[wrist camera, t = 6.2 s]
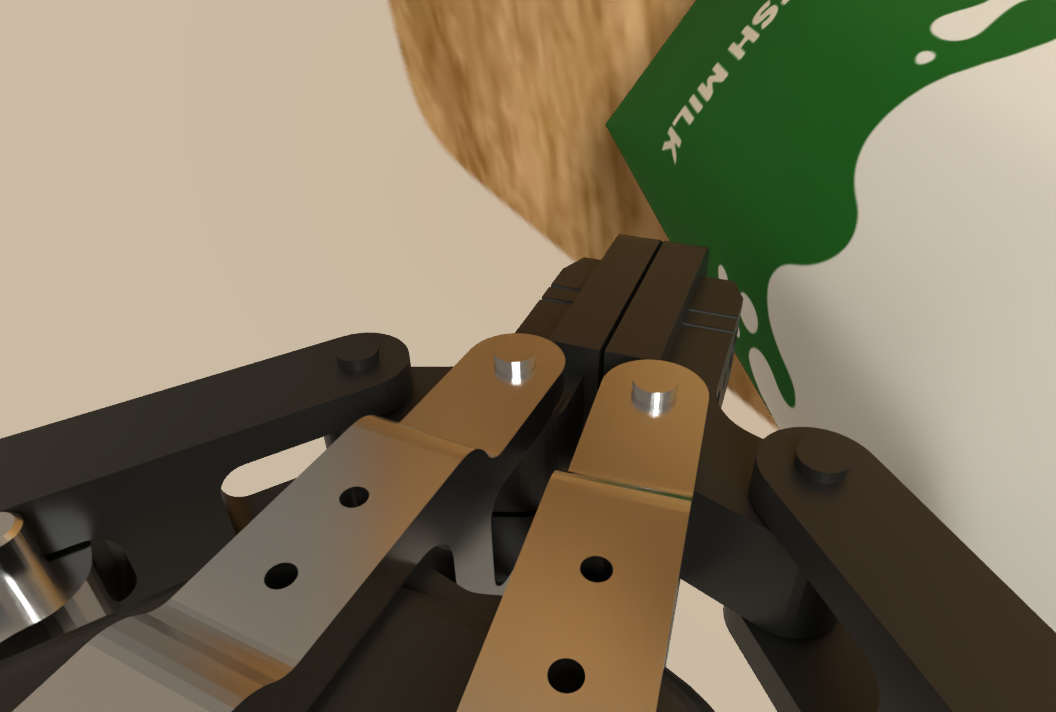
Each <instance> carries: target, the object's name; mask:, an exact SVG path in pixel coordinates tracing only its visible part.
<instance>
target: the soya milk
mask: <svg viewBox="0 0 1056 712" xmlns="http://www.w3.org/2000/svg"><path fill="white" fill-rule="evenodd" d="M606 127H607V128H608V130H609V132H610V134H611V136H612V137H613V139H614V141H615V143H616V145H617V146H618V148H619V150H620V152H621V154H622V155H623V157H624V159H625V161H626V163H627V164H628V166H629V168H630V170H631V172H632V173H633V175H634V177H635V179H636V181H637V182H638V184H639V186H640V188H641V190H642V192H643V193H644V195H645V197H646V199H647V201H648V202H649V204H650V206H651V208H652V210H653V211H654V213H655V215H656V217H657V219H658V221H659V222H660V224H661V226H662V228H663V230H664V231H665V233H666V235H667V237H668V238H669V240H670V242H676V243H683V244H689V245H696V246H703V247H709V261H708V268H707V276H706V277H711V278H718V279H724V280H730V281H735V283H736V285H737V287H738V289H739V291H740V293H741V295H742V297H743V304H742V310H741V315H740V321H739V327H738V333H737V338H736V344H735V350H734V352H735V354H736V355H737V357H738V359H739V361H740V362H741V364H742V366H743V367H744V369H745V371H746V373H747V374H748V376H749V378H750V379H751V381H752V383H753V385H754V386H755V388H756V390H757V391H758V393H759V395H760V397H761V398H762V400H763V402H764V403H765V405H766V407H767V409H768V410H769V412H770V414H771V415H772V417H773V419H774V420H775V422H776V424H777V426H778V427H779V429H780V430H782V429H785V428H791V427H815V428H820V429H826V430H829V431H833V432H836V433H839V434H841V435H844V436H846V437H848V438H850V439H852V440H854V441H856V442H857V443H859V444H861V445H862V446H864V447H865V448H866V449H867V450H869V451H870V452H871V453H872V454H873V455H874V456H875V457H876V458H877V459H878V460H879V461H880V462H881V463H882V464H883V465H884V466H885V467H886V468H887V469H889V470H890V471H891V472H892V473H893V474H894V475H895V476H896V477H897V478H898V479H899V480H900V481H901V482H902V483H903V484H904V485H905V486H906V487H907V488H908V489H909V490H910V491H911V492H912V493H913V494H914V495H915V496H916V497H917V498H918V499H919V500H920V501H921V502H922V503H923V504H924V505H925V506H926V507H927V508H929V509H930V510H931V511H932V512H933V513H934V514H935V515H936V516H937V517H938V518H939V519H940V520H941V521H942V522H943V523H944V524H945V525H946V526H947V527H948V528H949V529H950V530H951V531H952V532H953V533H954V534H955V535H956V536H957V537H958V538H959V539H960V540H961V541H962V542H963V543H964V544H965V545H966V546H967V547H968V548H970V549H971V550H972V551H973V552H974V553H975V554H976V555H977V556H978V557H979V558H980V559H981V560H982V561H983V562H984V563H985V564H986V565H987V566H988V567H989V568H990V569H991V570H992V571H993V572H994V573H995V574H996V575H997V576H998V577H999V578H1000V579H1001V580H1002V581H1003V582H1004V583H1005V584H1006V585H1007V586H1008V587H1010V588H1011V589H1012V590H1013V591H1014V592H1015V593H1016V594H1017V595H1018V596H1019V597H1020V598H1021V599H1022V600H1023V601H1024V602H1025V603H1026V604H1027V605H1028V606H1029V607H1030V608H1031V609H1032V610H1033V611H1034V612H1035V613H1036V614H1037V615H1038V616H1039V617H1040V618H1041V619H1042V620H1043V621H1044V622H1045V623H1046V624H1047V625H1048V626H1050V627H1051V628H1052V629H1053V630H1054V631H1055V632H1056V0H696V1H695V3H694V4H693V5H692V7H691V8H690V9H689V11H688V12H687V14H686V15H685V16H684V18H683V19H682V20H681V22H680V23H679V24H678V26H677V27H676V29H675V30H674V31H673V33H672V34H671V35H670V37H669V38H668V40H667V41H666V42H665V44H664V45H663V46H662V48H661V49H660V50H659V52H658V53H657V55H656V56H655V57H654V59H653V60H652V61H651V63H650V64H649V66H648V67H647V68H646V70H645V71H644V72H643V74H642V75H641V76H640V78H639V79H638V81H637V82H636V83H635V85H634V86H633V87H632V89H631V90H630V92H629V93H628V94H627V96H626V97H625V98H624V100H623V101H622V102H621V104H620V105H619V107H618V108H617V109H616V111H615V112H614V113H613V115H612V116H611V118H610V119H609V120H608V122H607V123H606Z"/></svg>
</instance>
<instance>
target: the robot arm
mask: <svg viewBox="0 0 1056 712" xmlns="http://www.w3.org/2000/svg"><path fill="white" fill-rule="evenodd" d="M708 261H709V247H703V246H696V245H689V244H683V243H676V242H669V241H664V242H662V241H661V240H654V239H647V238H641V237H634V236H627V235H620V234H619V235H618V236H617V237H616V239H615V240H614V242H613V243H612V245H611V246H610V248H609V249H608V251H607V252H606V254H605V255H604V257H603V258H602V260H597V259H591V258H582V259H581V260H579V261H577V262H575V263H573V264H571V265H569V266H568V267H566V268H564V269H562V271H561V272H560V274H559V275H558V276H557V278H556V279H555V280H554V281H553V283H552V285H551V287H549V288H548V290H547V291H546V292H545V293H544V295H543V296H542V300H539V302H538V303H537V304H536V306H535V307H534V308H533V310H532V311H531V312H530V314H529V315H528V316H527V318H526V319H525V320H524V322H523V323H522V324H521V326H520V327H519V328H518V330H517V331H516V332H515V333H512V334H503V335H498V336H494V337H491V338H488V339H486V340H483V341H481V342H480V343H478V344H476V345H475V346H474V347H473V348H472V349H471V350H470V351H469V352H468V353H467V354H466V355H465V356H464V357H463V358H462V359H461V360H460V361H459V362H458V363H457V364H456V365H455V366H454V367H411V364H410V357H409V351H408V348H407V347H406V345H405V344H404V343H403V342H402V341H400V340H399V339H397V338H395V337H392V336H390V335H385V334H380V333H358V334H351V335H348V336H343V337H340V338H336V339H333V340H330V341H326V342H323V343H319V344H316V345H313V346H309V347H306V348H303V349H299V350H296V351H293V352H290V353H286V354H283V355H279V356H276V357H273V358H269V359H266V360H263V361H260V362H256V363H253V364H250V365H246V366H242V367H239V368H236V369H233V370H229V371H226V372H223V373H219V374H216V375H212V376H209V377H206V378H202V379H199V380H196V381H192V382H189V383H186V384H182V385H179V386H176V387H172V388H169V389H165V390H163V391H159V392H155V393H152V394H149V395H145V396H143V397H139V398H135V399H132V400H129V401H126V402H122V403H119V404H116V405H112V406H109V407H105V408H102V409H99V410H96V411H92V412H88V413H85V414H82V415H78V416H75V417H72V418H68V419H65V420H62V421H58V422H55V423H52V424H48V425H45V426H42V427H38V428H35V429H32V430H29V431H25V432H21V433H18V434H15V435H11V436H8V437H5V438H1V439H0V712H714V710H713V709H712V708H711V706H710V705H709V704H708V703H707V702H706V701H705V700H704V699H703V698H702V697H701V696H700V695H699V694H698V693H697V692H695V690H693V688H692V687H691V686H689V685H688V684H687V683H686V682H684V681H683V680H682V679H680V678H679V677H678V676H677V675H675V674H674V673H673V672H671V671H670V670H669V669H667V668H666V663H667V657H668V651H669V645H670V639H671V633H672V627H673V621H674V615H675V608H676V603H677V596H678V591H679V585H680V579H682V580H684V581H686V582H687V583H689V584H690V585H692V586H693V587H695V588H697V589H698V590H700V591H702V592H703V593H705V594H706V595H708V596H710V597H711V598H713V599H715V600H716V601H718V602H719V603H721V604H723V605H724V608H723V612H724V619H725V622H726V626H727V628H728V630H729V632H730V634H731V635H732V637H733V638H734V640H735V642H736V644H737V645H738V647H739V649H740V650H741V652H742V653H743V655H744V657H745V658H746V660H747V662H748V663H749V665H750V666H751V668H752V670H753V672H754V673H755V675H756V677H757V678H758V680H759V682H760V683H761V685H762V687H763V688H764V690H765V692H766V693H767V695H768V697H769V698H770V700H771V702H772V703H773V705H774V707H775V708H776V710H777V712H1056V632H1055V631H1054V630H1053V629H1052V628H1051V627H1050V626H1048V625H1047V624H1046V623H1045V622H1044V621H1043V620H1042V619H1041V618H1040V617H1039V616H1038V615H1037V614H1036V613H1035V612H1034V611H1033V610H1032V609H1031V608H1030V607H1029V606H1028V605H1027V604H1026V603H1025V602H1024V601H1023V600H1022V599H1021V598H1020V597H1019V596H1018V595H1017V594H1016V593H1015V592H1014V591H1013V590H1012V589H1011V588H1010V587H1008V586H1007V585H1006V584H1005V583H1004V582H1003V581H1002V580H1001V579H1000V578H999V577H998V576H997V575H996V574H995V573H994V572H993V571H992V570H991V569H990V568H989V567H988V566H987V565H986V564H985V563H984V562H983V561H982V560H981V559H980V558H979V557H978V556H977V555H976V554H975V553H974V552H973V551H972V550H971V549H970V548H968V547H967V546H966V545H965V544H964V543H963V542H962V541H961V540H960V539H959V538H958V537H957V536H956V535H955V534H954V533H953V532H952V531H951V530H950V529H949V528H948V527H947V526H946V525H945V524H944V523H943V522H942V521H941V520H940V519H939V518H938V517H937V516H936V515H935V514H934V513H933V512H932V511H931V510H930V509H929V508H927V507H926V506H925V505H924V504H923V503H922V502H921V501H920V500H919V499H918V498H917V497H916V496H915V495H914V494H913V493H912V492H911V491H910V490H909V489H908V488H907V487H906V486H905V485H904V484H903V483H902V482H901V481H900V480H899V479H898V478H897V477H896V476H895V475H894V474H893V473H892V472H891V471H890V470H889V469H887V468H886V467H885V466H884V465H883V464H882V463H881V462H880V461H879V460H878V459H877V458H876V457H875V456H874V455H873V454H872V453H871V452H870V451H869V450H867V449H866V448H865V447H864V446H862V445H861V444H859V443H857V442H856V441H854V440H852V439H850V438H848V437H846V436H844V435H841V434H839V433H836V432H833V431H829V430H826V429H820V428H815V427H791V428H785V429H782V430H778V431H776V432H774V433H772V434H770V435H769V436H767V437H766V438H764V439H762V438H760V437H757V436H755V435H753V434H751V433H749V432H747V431H746V430H744V429H742V428H741V427H739V426H738V425H736V424H735V423H734V422H732V421H731V420H730V419H729V418H728V417H727V416H726V415H725V413H724V412H723V411H722V409H721V406H722V402H723V399H724V395H725V392H726V388H727V385H728V381H729V377H730V373H731V367H732V361H733V356H734V350H735V344H736V338H737V333H738V327H739V321H740V315H741V310H742V304H743V297H742V295H741V293H740V291H739V289H738V287H737V285H736V283H735V281H730V280H724V279H718V278H711V277H706V276H707V268H708ZM323 436H324V439H325V444H326V448H327V449H326V450H325V451H324V452H323V453H322V454H321V455H320V456H319V457H318V458H317V459H316V460H315V461H314V462H313V463H312V464H311V465H310V466H309V467H308V468H307V469H306V470H305V471H303V472H302V473H301V474H300V475H299V476H298V477H297V478H295V479H293V480H290V481H287V482H284V483H282V484H279V485H276V486H273V487H271V488H268V489H266V490H263V491H260V492H258V493H255V494H252V495H249V496H245V497H233V496H229V495H227V494H225V493H224V492H223V491H222V490H221V486H222V483H223V481H224V479H225V478H226V477H227V475H228V474H229V473H230V472H231V471H233V470H234V469H236V468H237V467H239V466H242V465H244V464H247V463H250V462H252V461H255V460H258V459H261V458H264V457H266V456H269V455H272V454H275V453H278V452H280V451H283V450H286V449H289V448H292V447H295V446H298V445H300V444H303V443H306V442H309V441H312V440H315V439H318V438H320V437H323Z"/></svg>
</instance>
